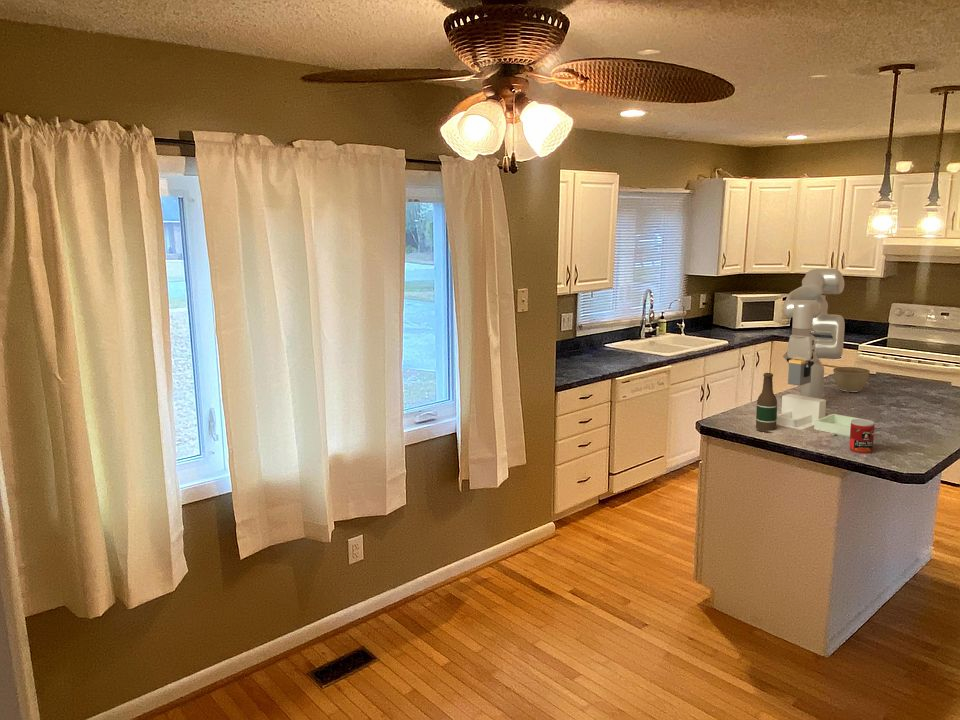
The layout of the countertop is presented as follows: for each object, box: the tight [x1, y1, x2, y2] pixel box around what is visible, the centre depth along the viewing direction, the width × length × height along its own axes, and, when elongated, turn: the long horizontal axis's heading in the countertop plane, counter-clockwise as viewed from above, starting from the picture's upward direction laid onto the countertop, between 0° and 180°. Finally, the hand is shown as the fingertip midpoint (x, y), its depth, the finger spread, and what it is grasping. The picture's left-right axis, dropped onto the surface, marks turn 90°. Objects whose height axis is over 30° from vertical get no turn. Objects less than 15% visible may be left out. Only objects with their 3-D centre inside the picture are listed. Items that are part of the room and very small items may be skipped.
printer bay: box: [776, 393, 827, 431], centre depth 290 cm, size 20×16×10 cm
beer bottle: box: [755, 372, 778, 434], centre depth 280 cm, size 8×8×24 cm
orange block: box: [787, 359, 812, 387], centre depth 284 cm, size 9×5×10 cm, turn 128°
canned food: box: [848, 418, 876, 454], centre depth 252 cm, size 8×8×11 cm
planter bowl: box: [832, 366, 871, 391], centre depth 344 cm, size 16×16×11 cm
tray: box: [813, 413, 861, 440], centre depth 277 cm, size 16×14×4 cm
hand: (799, 375), depth 285 cm, fingers closed on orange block, 5 cm apart
